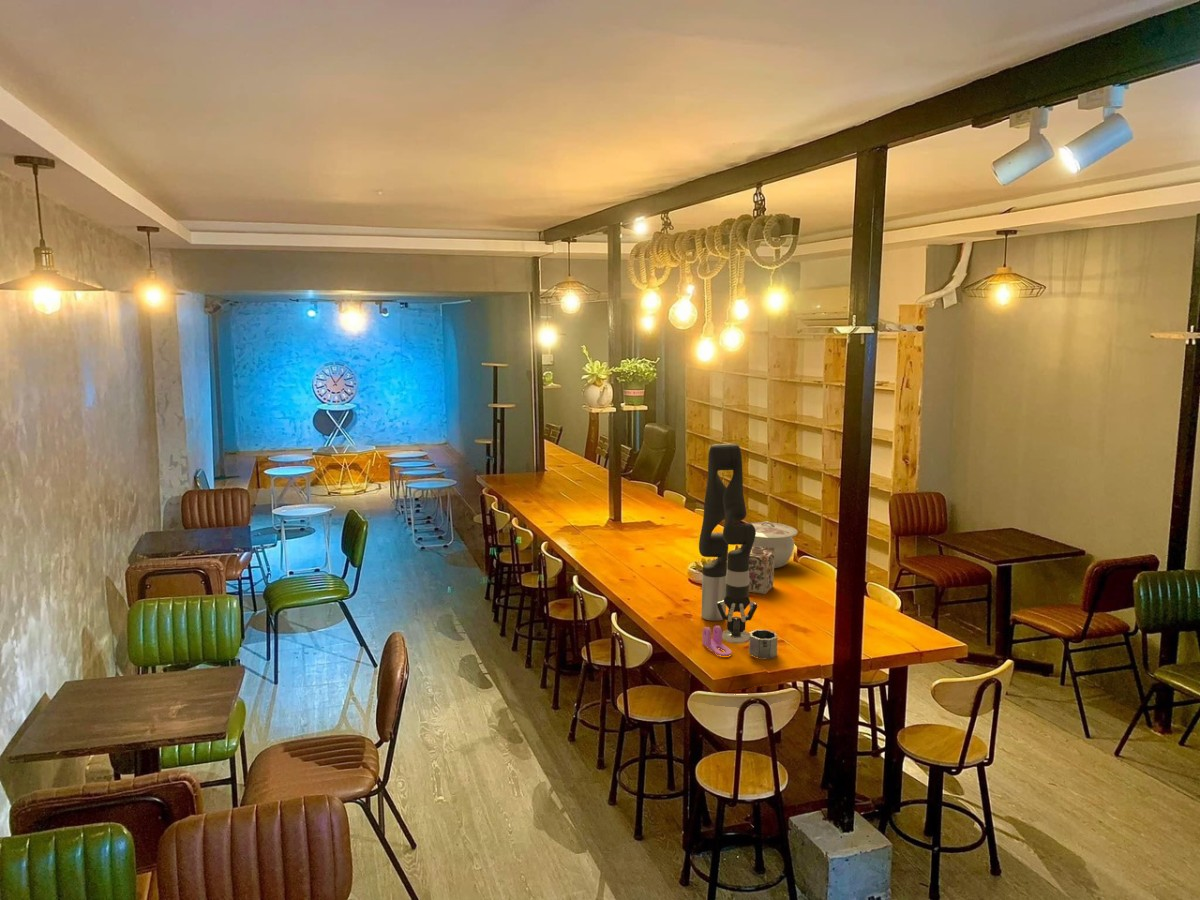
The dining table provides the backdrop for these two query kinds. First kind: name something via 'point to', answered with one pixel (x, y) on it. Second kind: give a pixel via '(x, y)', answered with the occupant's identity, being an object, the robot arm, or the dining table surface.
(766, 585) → the decorative jar
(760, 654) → the pot
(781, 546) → the chamber pot
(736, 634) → the lid
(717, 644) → the bracket
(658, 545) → the dining table surface
